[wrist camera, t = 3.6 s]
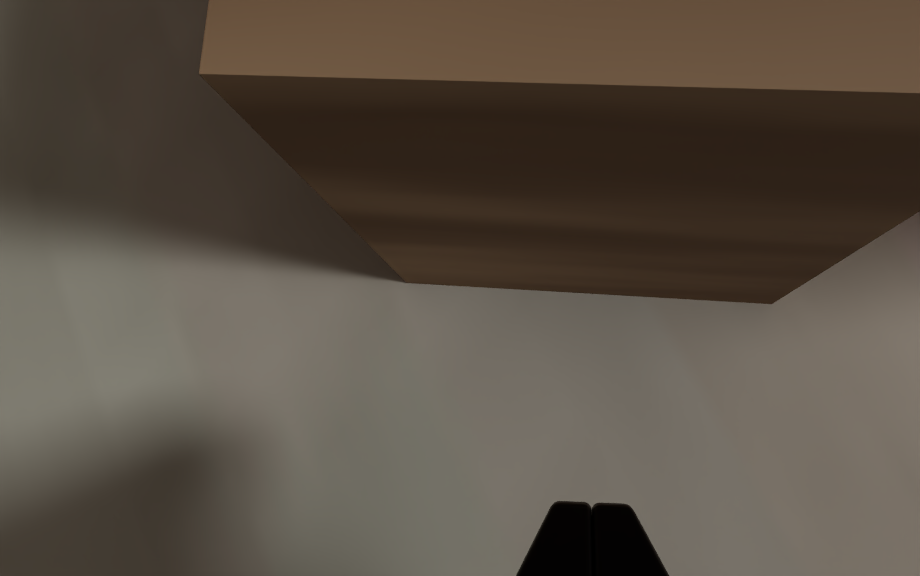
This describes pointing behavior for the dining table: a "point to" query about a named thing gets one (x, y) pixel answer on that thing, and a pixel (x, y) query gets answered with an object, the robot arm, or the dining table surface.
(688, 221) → the wooden block
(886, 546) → the dining table surface
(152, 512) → the dining table surface
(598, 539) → the robot arm
